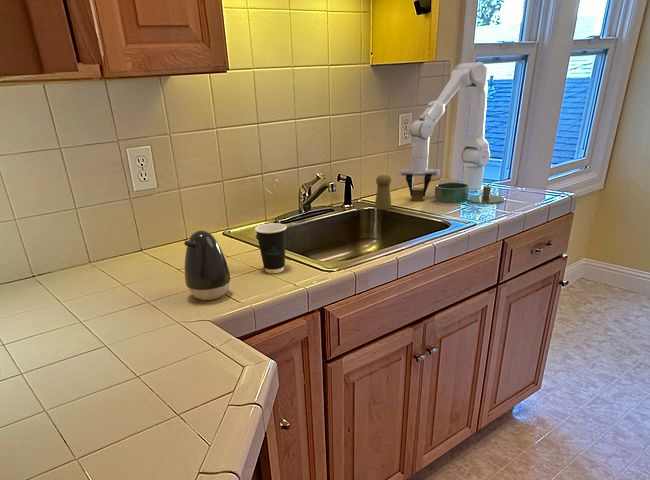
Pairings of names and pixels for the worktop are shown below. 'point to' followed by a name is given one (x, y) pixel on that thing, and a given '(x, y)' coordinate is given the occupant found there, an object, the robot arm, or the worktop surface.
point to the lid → (486, 197)
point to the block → (417, 194)
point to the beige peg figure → (383, 192)
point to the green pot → (451, 193)
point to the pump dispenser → (205, 267)
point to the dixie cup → (272, 246)
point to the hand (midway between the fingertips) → (417, 196)
